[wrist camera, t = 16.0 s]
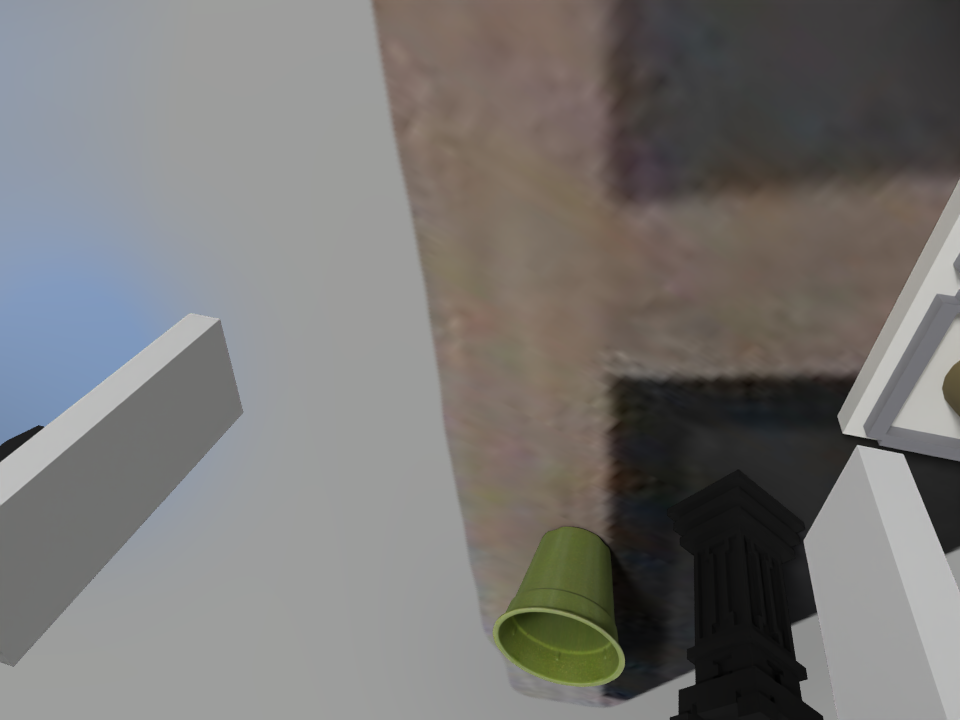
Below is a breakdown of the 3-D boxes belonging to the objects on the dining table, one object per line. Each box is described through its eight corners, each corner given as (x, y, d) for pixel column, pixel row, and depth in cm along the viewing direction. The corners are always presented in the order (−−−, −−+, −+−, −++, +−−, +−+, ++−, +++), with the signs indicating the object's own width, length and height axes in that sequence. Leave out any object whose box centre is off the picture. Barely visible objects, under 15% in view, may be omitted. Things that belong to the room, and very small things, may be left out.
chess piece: (803, 522, 53) (852, 772, 37) (728, 556, 58) (744, 791, 42) (738, 469, 52) (761, 706, 36) (667, 509, 57) (660, 734, 41)
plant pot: (504, 510, 63) (474, 607, 54) (619, 506, 58) (607, 611, 49) (536, 584, 68) (514, 683, 60) (644, 586, 64) (637, 693, 55)
